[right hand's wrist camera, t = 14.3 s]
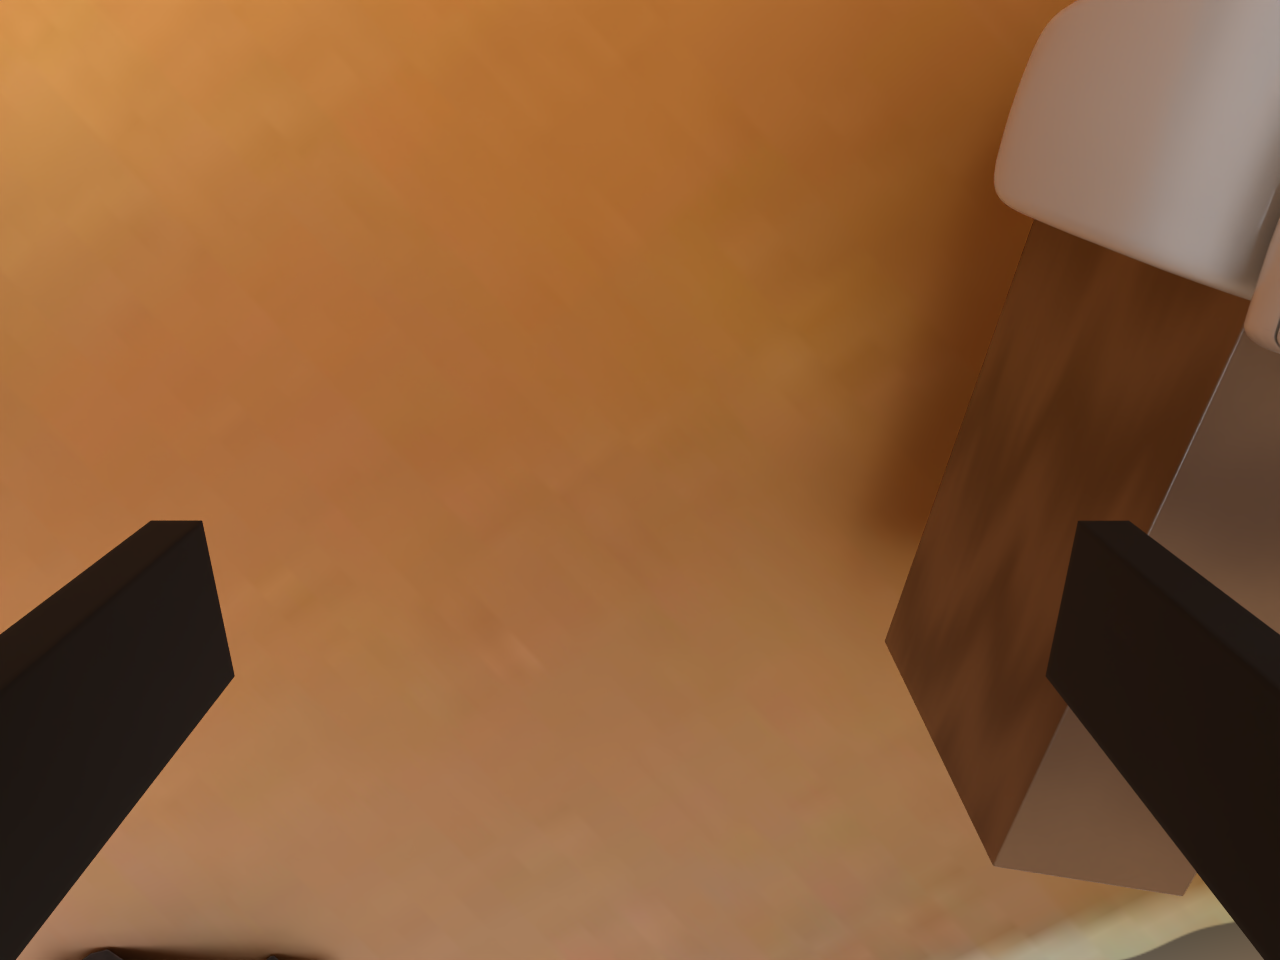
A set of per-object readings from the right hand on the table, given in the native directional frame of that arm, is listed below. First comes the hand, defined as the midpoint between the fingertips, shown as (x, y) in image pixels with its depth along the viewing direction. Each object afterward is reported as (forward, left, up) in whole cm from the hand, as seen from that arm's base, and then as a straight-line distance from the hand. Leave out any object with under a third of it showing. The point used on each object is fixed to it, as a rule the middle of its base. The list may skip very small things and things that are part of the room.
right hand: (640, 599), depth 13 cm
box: (+13, +9, -20) cm, 26 cm away
